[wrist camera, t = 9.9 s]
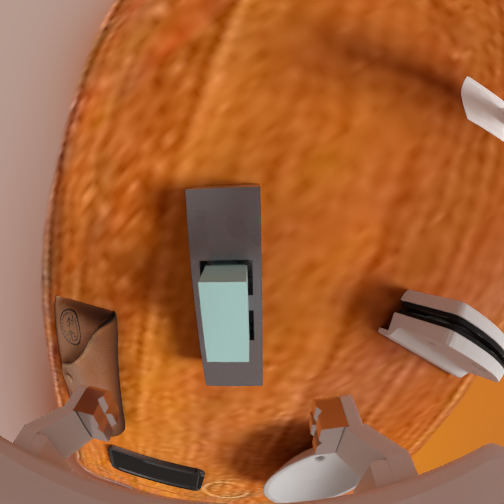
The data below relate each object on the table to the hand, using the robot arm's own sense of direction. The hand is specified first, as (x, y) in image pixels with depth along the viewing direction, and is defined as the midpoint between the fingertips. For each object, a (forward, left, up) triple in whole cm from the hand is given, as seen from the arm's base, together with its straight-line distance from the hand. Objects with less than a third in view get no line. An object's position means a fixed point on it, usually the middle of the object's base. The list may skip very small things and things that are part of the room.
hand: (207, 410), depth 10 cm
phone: (+33, -14, -15) cm, 38 cm away
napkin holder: (+7, +22, -15) cm, 28 cm away
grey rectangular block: (+1, 0, -14) cm, 14 cm away
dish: (+27, +10, -15) cm, 32 cm away
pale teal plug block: (+1, 0, -14) cm, 14 cm away
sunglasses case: (+11, -17, -15) cm, 25 cm away
